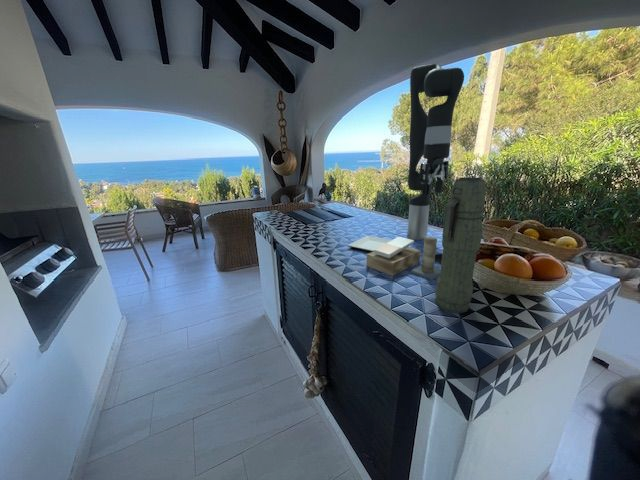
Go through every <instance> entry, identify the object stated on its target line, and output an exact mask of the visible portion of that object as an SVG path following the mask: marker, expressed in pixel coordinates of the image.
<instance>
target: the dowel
mask: <svg viewBox="0 0 640 480" xmlns="http://www.w3.org/2000/svg"><path fill="white" fill-rule="evenodd" d="M423 241H424V242H423V251H422V258H421V259H422V260H421V265H422V268H421V270H422V271H423V272H426V273H432V272H433V270H434V268H435V262H436V261H435V254H437V253H436V251H437V243H438V238H436V237H432V236H427V237H425V239H424V240H423Z"/></svg>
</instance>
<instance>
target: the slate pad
mask: <svg viewBox="0 0 640 480" xmlns="http://www.w3.org/2000/svg"><path fill="white" fill-rule="evenodd" d="M421 268H422V264H420V265H419V266H417V267H414V268H413V269H411V270H410V273H411V274H413V275H416V276H419V277H421V278H425V279H427V280H431V281H433V280H435V279H438V278H439V276H440V270H441V268H436V267H434V270H433V272H432V273H426V272H423V271H422V270H421Z"/></svg>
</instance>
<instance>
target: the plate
mask: <svg viewBox="0 0 640 480" xmlns="http://www.w3.org/2000/svg"><path fill="white" fill-rule="evenodd" d="M392 240H393V239H391V238H385V237H384V238H383V237H378V236H372V235H366V236H363V237H362V238H359V239H357V240H355V241H353V242H351V243H350V244H347V246H348V247H349V248H353V249H357V250H360V251H365V252H366V251H367V252H369V253H371V252H374V250H375V249H377V248H379V247H381V246H382V245H384V244H386V243H388V242H390V241H392Z"/></svg>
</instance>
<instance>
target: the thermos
mask: <svg viewBox="0 0 640 480" xmlns="http://www.w3.org/2000/svg"><path fill="white" fill-rule="evenodd" d="M485 182H486V181H485V180H484V179H482V178H481V177H459V178H458V179H455V181H454V183H453V185H452V186H451V189H450V195H449V199H448V201H447V203H446V205H445V213H444V220H443V228H442V230H443V231H442V240H441V245H442V248H443V249H442V253H443V254H442V262H441V264H440V276H438V277H437V278H436V287H435V297H434V298H435V299H434V300H435V302H434V303H435V304H436V306H437V307H439V308H440V309H441V310H443V311H446V312H449V313H453V314H458V313H459V314H463V313H467V312H468V311H469V310H470V303H471V301H472V296H473V290H474V286H473V285H474V284H473V276H474V272H475V271H474V270H475V265H476V258H477V253H478V251H479V250H480V248H481V243H482V236H483V231H484V227H483V223H482V222H483V216H484V211H485V204H486V196H487V189H486V188H487V187H486V183H485Z"/></svg>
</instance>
